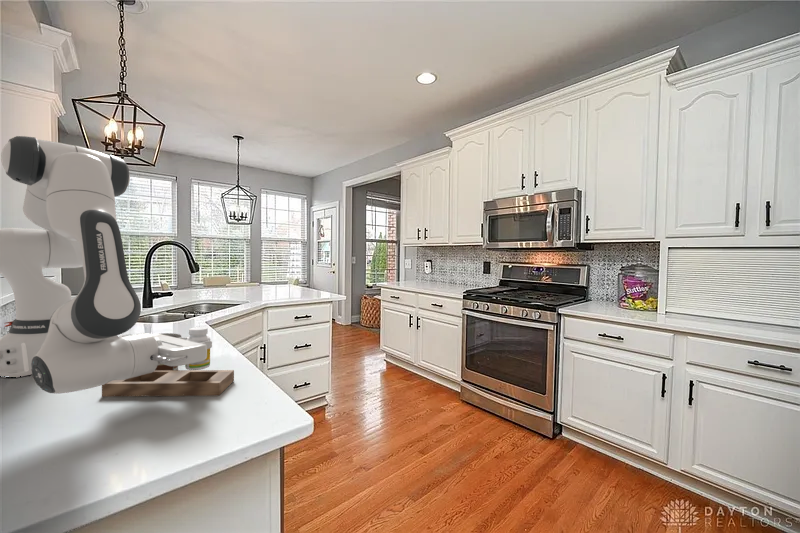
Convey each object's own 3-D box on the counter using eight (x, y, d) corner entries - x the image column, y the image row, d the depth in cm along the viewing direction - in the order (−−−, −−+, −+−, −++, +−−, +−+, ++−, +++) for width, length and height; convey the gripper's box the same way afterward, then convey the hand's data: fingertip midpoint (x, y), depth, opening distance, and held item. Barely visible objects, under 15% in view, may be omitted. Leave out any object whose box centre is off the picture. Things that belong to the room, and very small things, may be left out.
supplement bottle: (215, 366, 89) (215, 327, 89) (194, 372, 84) (195, 331, 84) (200, 362, 91) (201, 325, 91) (180, 368, 87) (180, 329, 86)
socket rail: (101, 396, 82) (101, 383, 82) (128, 381, 91) (128, 370, 91) (219, 395, 84) (219, 383, 84) (233, 381, 94) (234, 370, 93)
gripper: (167, 347, 71) (228, 334, 83) (116, 334, 81) (178, 324, 93) (166, 378, 71) (228, 361, 84) (116, 361, 81) (178, 348, 93)
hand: (201, 341), depth 89 cm, fingers closed on supplement bottle, 5 cm apart
